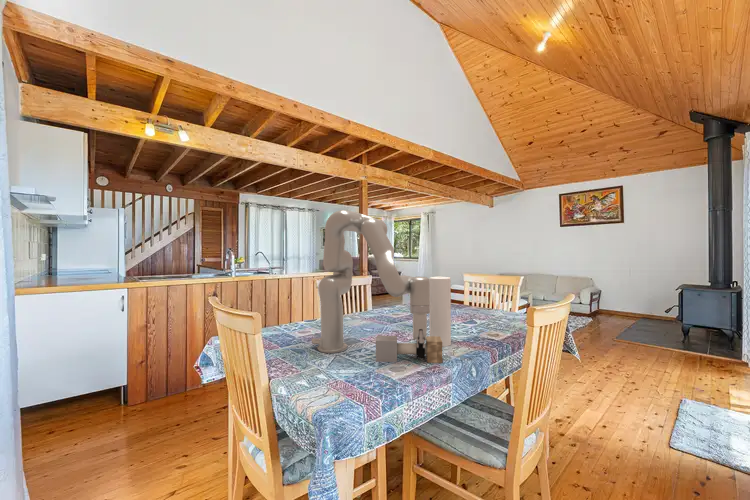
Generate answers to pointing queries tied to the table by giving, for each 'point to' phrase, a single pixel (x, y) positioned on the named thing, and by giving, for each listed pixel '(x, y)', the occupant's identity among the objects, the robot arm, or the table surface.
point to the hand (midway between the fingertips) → (420, 355)
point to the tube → (409, 348)
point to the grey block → (386, 349)
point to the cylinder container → (440, 308)
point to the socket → (434, 349)
